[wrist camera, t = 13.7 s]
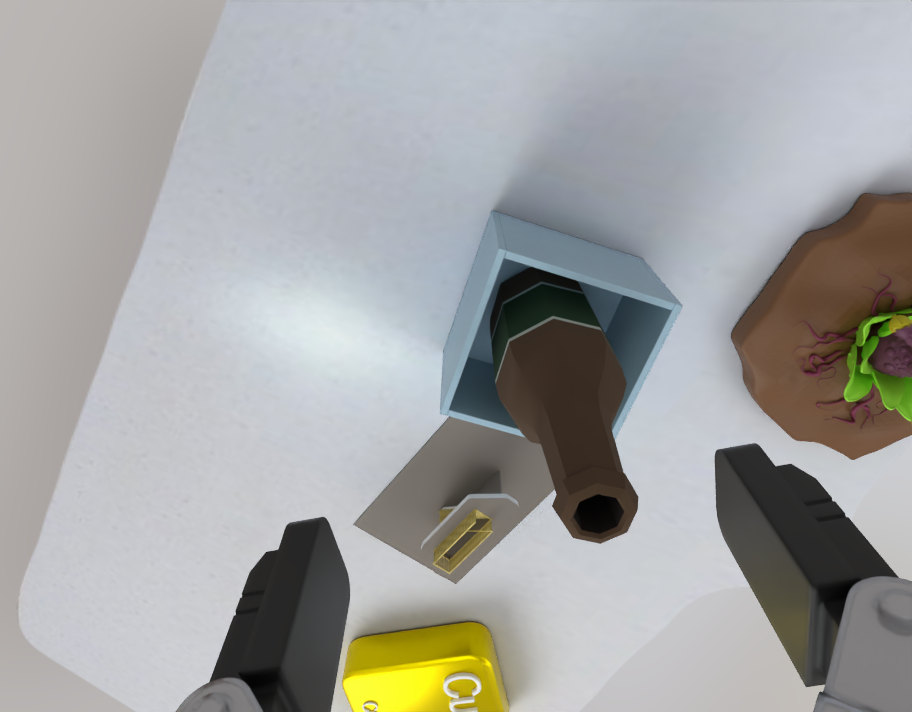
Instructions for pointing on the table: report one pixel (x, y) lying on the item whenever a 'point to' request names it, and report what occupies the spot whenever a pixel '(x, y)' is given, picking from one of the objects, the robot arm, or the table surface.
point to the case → (606, 288)
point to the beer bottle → (564, 397)
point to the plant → (838, 332)
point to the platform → (459, 497)
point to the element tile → (425, 671)
